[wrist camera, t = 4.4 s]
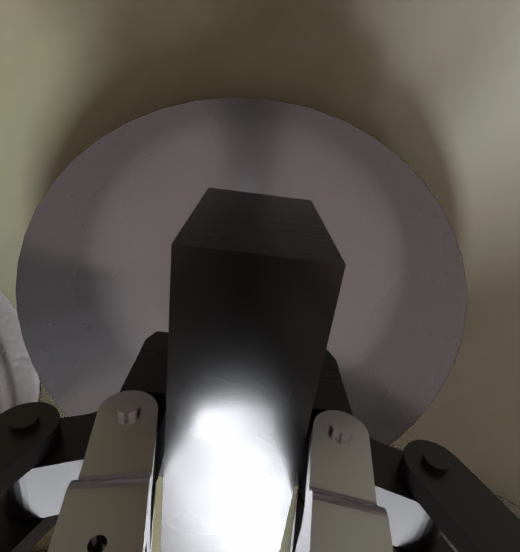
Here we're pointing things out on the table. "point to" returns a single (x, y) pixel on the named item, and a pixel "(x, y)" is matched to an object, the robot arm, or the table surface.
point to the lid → (241, 296)
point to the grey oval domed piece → (14, 362)
